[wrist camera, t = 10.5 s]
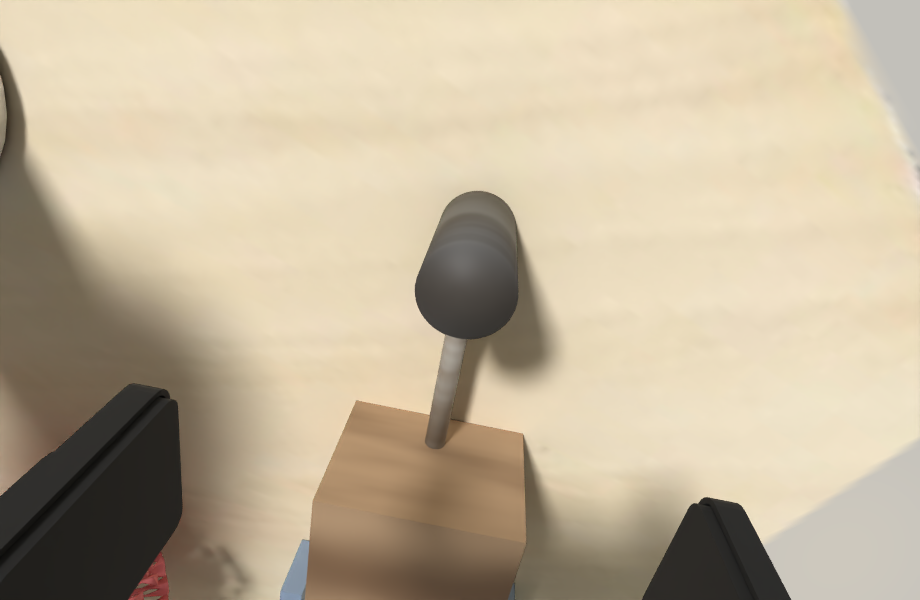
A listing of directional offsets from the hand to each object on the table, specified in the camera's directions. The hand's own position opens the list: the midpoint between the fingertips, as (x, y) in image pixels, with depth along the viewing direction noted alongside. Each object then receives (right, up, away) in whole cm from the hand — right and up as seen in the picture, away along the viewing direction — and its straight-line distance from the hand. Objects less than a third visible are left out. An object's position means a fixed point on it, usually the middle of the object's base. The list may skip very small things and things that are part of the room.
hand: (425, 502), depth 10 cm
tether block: (0, -1, +18) cm, 18 cm away
